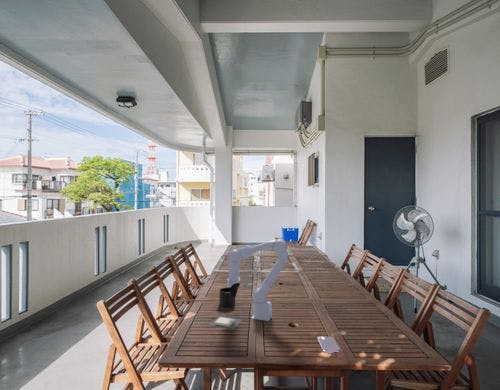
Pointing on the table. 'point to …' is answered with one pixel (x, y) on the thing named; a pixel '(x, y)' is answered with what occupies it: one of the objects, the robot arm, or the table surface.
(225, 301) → the mug
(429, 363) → the table surface
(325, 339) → the mobile phone
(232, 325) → the mat
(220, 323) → the tile
